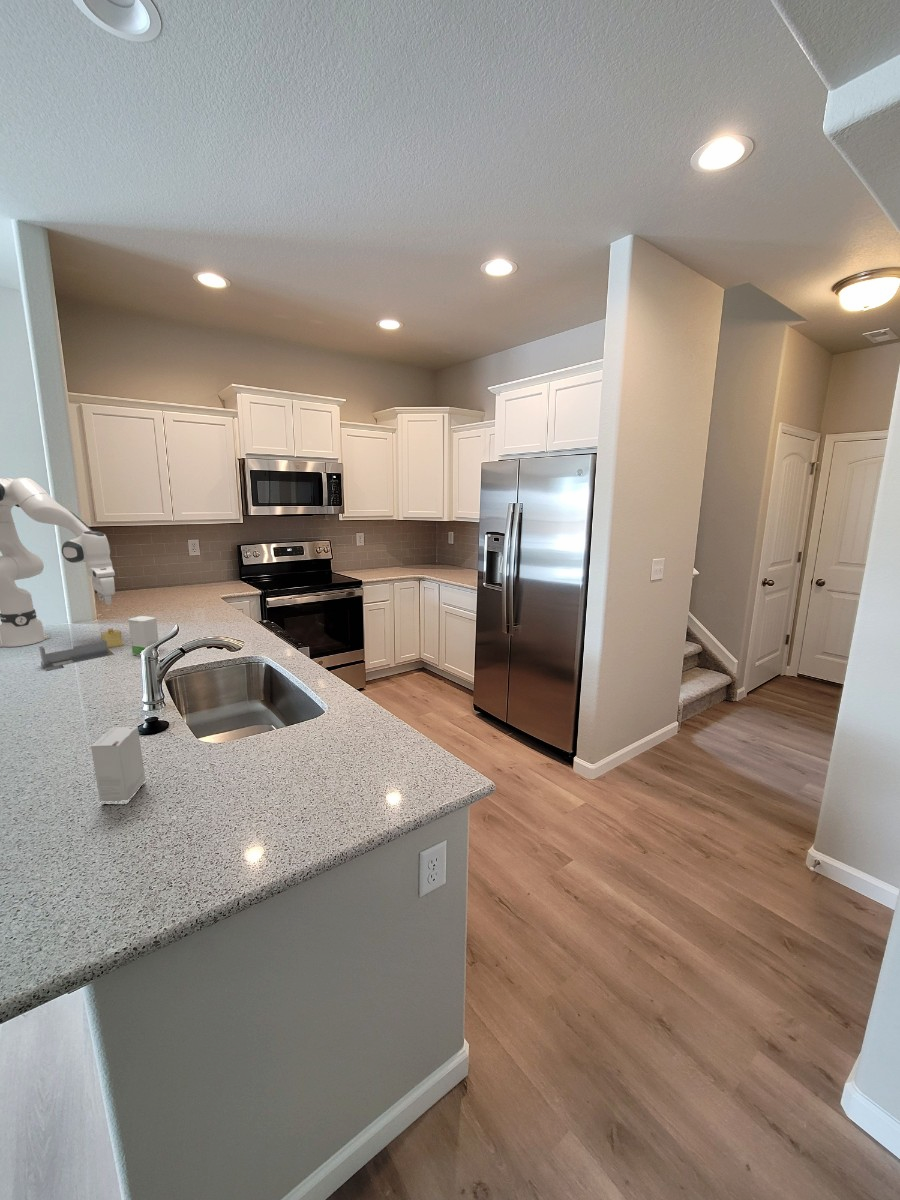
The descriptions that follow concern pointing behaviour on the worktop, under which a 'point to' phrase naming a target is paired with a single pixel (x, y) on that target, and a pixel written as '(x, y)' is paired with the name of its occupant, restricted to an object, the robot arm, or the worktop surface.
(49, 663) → the rail
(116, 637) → the gold knobbed block
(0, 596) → the robot arm
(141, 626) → the skincare box
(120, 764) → the skincare box
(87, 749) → the worktop surface
